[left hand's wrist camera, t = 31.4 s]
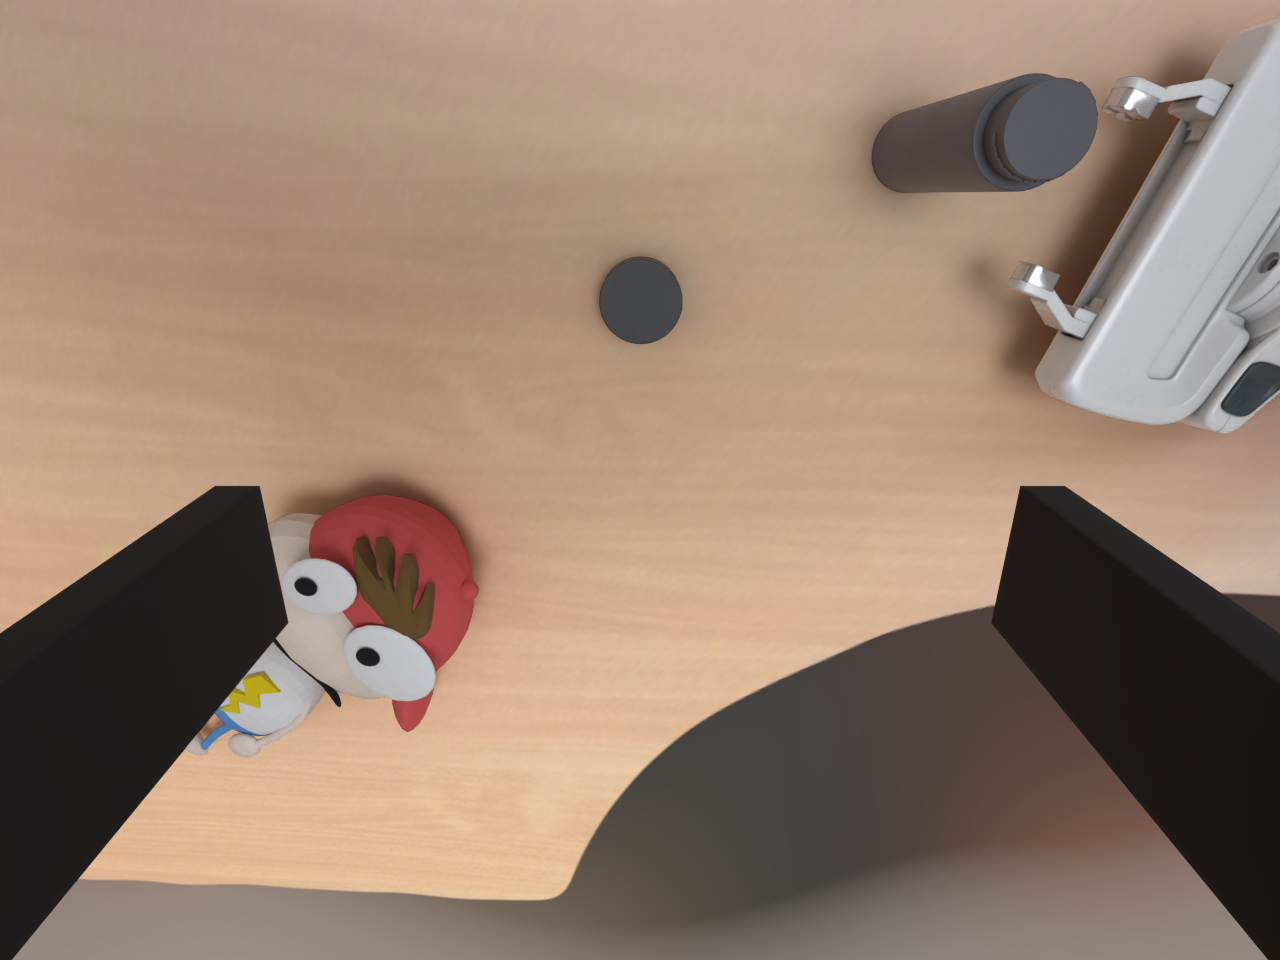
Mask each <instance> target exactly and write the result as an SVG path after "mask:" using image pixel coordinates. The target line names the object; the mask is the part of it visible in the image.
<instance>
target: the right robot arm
mask: <svg viewBox="0 0 1280 960" xmlns="http://www.w3.org/2000/svg"><path fill="white" fill-rule="evenodd" d="M1172 100H1173V101H1175V102H1172V103H1171V105H1170V106H1169V108H1168V110H1167V111H1168V113H1169V114H1171V115H1173V116H1175V117H1177V118H1179V119H1180V121H1179V122H1178V124H1177V126H1176V128H1175V129H1174V131H1173V133H1172V134H1171V136H1170V138H1169V140H1168V141H1167V143H1166V145H1165V147H1164V148H1163V150H1162V152H1161V154H1160V155H1159V157H1158V159H1157V160H1156V162H1155V164H1154V166H1153V167H1152V169H1151V171H1150V173H1149V174H1148V176H1147V178H1146V180H1145V181H1144V183H1143V185H1142V186H1141V188H1140V190H1139V192H1138V193H1137V195H1136V197H1135V199H1134V200H1133V202H1132V204H1131V206H1130V207H1129V209H1128V211H1127V212H1126V214H1125V216H1124V218H1123V219H1122V221H1121V223H1120V225H1119V226H1118V228H1117V230H1116V232H1115V233H1114V235H1113V237H1112V239H1111V240H1110V242H1109V244H1108V245H1107V247H1106V249H1105V251H1104V252H1103V254H1102V256H1101V258H1100V259H1099V261H1098V263H1097V265H1096V266H1095V268H1094V270H1093V271H1092V273H1091V275H1090V277H1089V278H1088V280H1087V282H1086V284H1085V285H1084V287H1083V289H1082V291H1081V292H1080V294H1079V296H1078V297H1077V299H1076V301H1075V303H1074V304H1073V306H1071V305H1067V304H1063V303H1062V301H1061V300H1060V298H1059V296H1058V295H1057V293H1056V292H1055V290H1054V288H1055V286H1056V284H1057V282H1058V280H1059V278H1060V276H1061V275H1060V274H1057V273H1055V272H1053V271H1050V270H1045V269H1044V268H1043V267H1040V266H1038V265H1035V264H1032V263H1025V262H1022V261H1020V262H1019V264H1018V266H1017V268H1016V269H1015V271H1014V273H1013V275H1012V277H1011V278H1010V280H1009V282H1008V284H1007V287H1008V288H1011V289H1013V290H1016V291H1018V292H1021V293H1023V294H1026V295H1028V296H1031V298H1030V300H1031V302H1032V303H1033V305H1034V307H1035V308H1036V310H1037V312H1038V313H1039V315H1040V317H1041V319H1042V320H1043V322H1044V324H1045V325H1047V326H1050V327H1052V328H1055V329H1057V330H1058V332H1057V334H1056V336H1055V337H1054V339H1053V341H1052V343H1051V344H1050V346H1049V348H1048V350H1047V351H1046V353H1045V355H1044V357H1043V358H1042V360H1041V362H1040V363H1039V365H1038V367H1037V369H1036V371H1035V377H1036V380H1037V382H1038V384H1039V386H1040V389H1041V390H1042V391H1043V392H1044V393H1046V394H1048V395H1050V396H1052V397H1054V398H1056V399H1058V400H1060V401H1063V402H1065V403H1068V404H1070V405H1073V406H1076V407H1078V408H1081V409H1084V410H1087V411H1091V412H1094V413H1097V414H1101V415H1105V416H1108V417H1113V418H1117V419H1121V420H1126V421H1131V422H1136V423H1142V424H1150V425H1163V424H1170V423H1174V422H1177V421H1179V422H1181V423H1184V424H1187V425H1190V426H1193V427H1196V428H1199V429H1203V430H1207V431H1212V432H1216V433H1221V434H1226V433H1230V432H1232V431H1234V430H1236V429H1238V428H1239V427H1240V426H1242V425H1243V424H1244V423H1245V422H1246V421H1248V420H1249V419H1250V418H1251V417H1252V416H1253V415H1254V414H1255V413H1257V412H1258V411H1259V410H1260V409H1261V408H1262V407H1264V406H1265V405H1266V404H1267V403H1268V402H1269V401H1271V400H1272V399H1273V398H1274V397H1275V396H1277V395H1278V394H1279V393H1280V18H1278V19H1274V20H1270V21H1267V22H1264V23H1261V24H1258V25H1255V26H1252V27H1250V28H1247V29H1245V30H1243V31H1240V32H1238V33H1236V34H1234V35H1232V36H1231V37H1229V38H1228V39H1227V40H1226V42H1225V43H1224V44H1223V46H1222V48H1221V49H1220V51H1219V53H1218V54H1217V56H1216V58H1215V60H1214V62H1213V63H1212V65H1211V67H1210V68H1209V70H1208V72H1207V74H1206V75H1205V77H1204V79H1203V80H1199V81H1194V82H1188V83H1183V84H1177V85H1172V86H1167V87H1161V86H1159V85H1157V84H1154V83H1152V82H1150V81H1148V80H1145V79H1143V78H1141V77H1135V76H1129V77H1125V78H1121V79H1117V81H1116V83H1115V85H1114V87H1113V89H1112V91H1111V92H1110V94H1109V96H1108V98H1107V100H1106V102H1105V104H1104V106H1103V107H1102V111H1103V112H1104V113H1106V114H1108V115H1109V114H1114V115H1115V117H1116V118H1117V119H1120V120H1122V121H1124V122H1135V121H1136V120H1137V119H1138V120H1140V121H1141V120H1147V119H1149V118H1150V116H1151V115H1152V113H1153V111H1154V109H1155V108H1156V106H1157V104H1158V103H1162V102H1167V101H1172Z"/></svg>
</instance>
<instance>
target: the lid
mask: <svg viewBox="0 0 1280 960" xmlns="http://www.w3.org/2000/svg"><path fill="white" fill-rule="evenodd" d="M681 310H682V293H681V289H680V286H679V284H678V281H677V279H676V277H675V276H674V274H673V273H672V271H671V270H670V269H669V268H668V267H667V266H666V265H664V264H663V263H661V262H660V261H658V260H655V259H652V258H648V257H633V258H629V259H627V260H624V261H622V262H620V263H619V264H618V265H616V266H615V267H614V268H613V269H612V270H611V271H610V273H609V274H608V275H607V277H606V279H605V281H604V284H603V286H602V289H601V292H600V311H601V315H602V317H603V320H604V322H605V323H606V325H607V326H608V328H609V329H610V330H611V331H612V332H613V333H614V334H615V335H616V336H618V337H619V338H621V339H623V340H625V341H627V342H630V343H635V344H647V343H651V342H655V341H657V340H659V339H661V338H663V337H664V336H666V335H667V334H668V333H669V332H670V331H671V330H672V329H673V328H674V326H675V325H676V323H677V321H678V319H679V317H680V314H681Z"/></svg>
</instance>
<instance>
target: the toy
mask: <svg viewBox="0 0 1280 960" xmlns="http://www.w3.org/2000/svg"><path fill="white" fill-rule="evenodd" d="M268 528H269V533H270V537H271V542H272V547H273V552H274V556H275V561H276V566H277V571H278V575H279V580H280V585H281V589H282V594H283V599H284V604H285V608H286V613H287V618H288V622H289V623H288V624H287V625H286V627H285V628H284V629H283V630H282V631H281V633H280V634H279V635H278V636H277V638H276V639H275V640H274V641H273V642H272V644H271V645H270V646H269V647H268V648H267V650H266V651H265V652H264V653H263V655H262V656H261V657H260V658H259V659H258V661H257V662H256V663H255V664H254V666H253V667H252V668H251V669H250V670H249V672H248V673H247V674H246V675H245V676H244V678H243V679H242V680H241V681H240V683H239V684H238V685H237V686H236V687H235V689H234V690H233V691H232V692H231V694H230V695H229V696H228V697H227V698H226V700H225V701H224V702H223V703H222V704H221V706H220V707H219V708H218V709H217V711H216V712H215V714H216V715H217V716H218V718H219V719H220V720H221V721H222V722H224V723H225V724H224V725H222V726H220V727H218V728H217V729H215V730H214V731H213V732H212V733H210V734H209V735H208V737H207V738H206V739H204V738H203V736H202V735H201V734H200V732H198V734H197V735H196V736H195V737H194V739H193V740H192V741H191V742H190V743H189V745H188V746H187V747H186V748H185V749H186V750H188V751H189V752H191V753H194V754H197V755H205V754H207V753H208V747H209V746H210V745H211V744H212V743H213V742H214V741H215V740H216V739H217V738H218V737H219V736H221V735H222V734H224V733H226V732H228V731H229V730H231V729H234V730H236V731H238V732H241V733H238V734H235V735H233V736H232V737H231V738H230V739H229V747H230V749H231V751H232V752H234V753H235V754H236V755H238V756H241V757H252V756H255V755H256V754H258V753H259V751H260V747H263V746H265V745H267V744H270V743H272V742H274V741H276V740H278V739H280V738H281V737H283V736H285V735H286V734H288V733H289V732H291V731H292V730H294V729H295V728H296V727H298V726H299V725H300V724H301V723H302V722H303V721H304V719H305V718H306V717H307V715H309V714H310V713H311V711H312V710H313V709H314V708H315V706H316V705H317V704H318V702H319V701H320V699H321V697H322V695H323V693H324V691H326V692H327V693H328V694H329V695H330V697H331V698H332V700H333V701H334V702H335V704H336V705H337V706H338V707H341V701H340V698H339V695H338V693H337V692H340V693H343V694H347V695H351V696H355V697H359V698H362V699H378V698H383V697H387V698H390V699H392V704H393V708H394V712H395V716H396V719H397V721H398V723H399V724H400V726H401V728H402V729H403V730H405V731H407V732H409V731H411V730H413V729H414V728H415V727H416V726H417V725H418V724H419V723H420V722H421V720H422V718H423V717H424V715H425V713H426V711H427V708H428V706H429V703H430V700H431V697H432V694H433V689H434V684H435V679H436V676H435V672H436V671H437V670H438V669H439V668H440V667H441V666H442V665H443V664H444V663H446V662H447V661H448V660H449V658H450V657H451V656H452V655H453V653H454V652H455V651H456V649H457V648H458V646H459V644H460V643H461V641H462V639H463V637H464V636H465V634H466V632H467V630H468V627H469V623H470V620H471V617H472V612H473V603H474V598H475V597H476V596H477V594H478V586H477V584H476V583H475V582H474V581H473V579H472V572H471V567H470V564H469V560H468V557H467V554H466V550H465V547H464V545H463V543H462V541H461V538H460V535H459V533H458V531H457V530H456V529H455V527H454V526H453V525H452V524H451V522H450V521H449V520H448V519H447V518H446V517H445V516H444V515H442V514H441V513H440V512H438V511H437V510H435V509H433V508H431V507H429V506H427V505H425V504H423V503H420V502H417V501H414V500H410V499H407V498H403V497H397V496H389V495H377V496H368V497H363V498H359V499H356V500H354V501H351V502H348V503H346V504H343V505H341V506H338V507H336V508H335V509H333V510H331V511H329V512H328V513H326V514H324V515H315V514H307V513H292V514H288V515H285V516H282V517H280V518H278V519H276V520H274V521H272V522H270V523H269V524H268ZM252 735H255V736H265V737H263V738H260V739H258V740H257V739H256V738H255V737H254V736H252Z"/></svg>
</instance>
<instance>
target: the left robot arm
mask: <svg viewBox="0 0 1280 960" xmlns="http://www.w3.org/2000/svg"><path fill="white" fill-rule="evenodd" d="M288 623H289V622H288V618H287V613H286V608H285V604H284V599H283V594H282V589H281V585H280V580H279V575H278V571H277V566H276V561H275V556H274V552H273V547H272V542H271V537H270V533H269V528H268V523H267V519H266V514H265V509H264V504H263V500H262V495H261V490H260V486H215V487H213V488H212V489H210V490H209V491H207V492H206V493H204V494H203V495H201V496H200V497H199V498H197V499H196V500H194V501H193V502H191V503H190V504H188V505H187V506H185V507H184V508H183V509H181V510H180V511H178V512H177V513H175V514H174V515H172V516H171V517H169V518H168V519H166V520H165V521H164V522H162V523H161V524H159V525H158V526H156V527H155V528H153V529H152V530H150V531H149V532H148V533H146V534H145V535H143V536H142V537H140V538H139V539H137V540H136V541H134V542H133V543H131V544H130V545H129V546H127V547H126V548H124V549H123V550H121V551H120V552H118V553H117V554H115V555H114V556H112V557H111V558H110V559H108V560H107V561H105V562H104V563H102V564H101V565H99V566H98V567H96V568H95V569H94V570H92V571H91V572H89V573H88V574H86V575H85V576H83V577H82V578H80V579H79V580H77V581H76V582H75V583H73V584H72V585H70V586H69V587H67V588H66V589H64V590H63V591H61V592H60V593H58V594H57V595H56V596H54V597H53V598H51V599H50V600H48V601H47V602H45V603H44V604H42V605H41V606H40V607H38V608H37V609H35V610H34V611H32V612H31V613H29V614H28V615H26V616H25V617H23V618H22V619H21V620H19V621H18V622H16V623H15V624H13V625H12V626H10V627H9V628H7V629H6V630H4V631H3V632H2V633H0V960H12V959H13V958H14V956H15V955H16V954H17V953H18V952H19V950H20V949H21V948H22V947H23V946H24V944H25V943H26V942H27V941H28V939H29V938H30V937H31V936H32V935H33V933H34V932H35V931H36V930H37V928H38V927H39V926H40V925H41V924H42V922H43V921H44V920H45V919H46V918H47V916H48V915H49V914H50V913H51V911H52V910H53V909H54V908H55V907H56V905H57V904H58V903H59V902H60V900H61V899H62V898H63V897H64V896H65V894H66V893H67V892H68V891H69V890H70V888H71V887H72V886H73V885H74V883H75V882H76V881H77V880H78V879H79V877H80V876H81V875H82V874H83V872H84V871H85V870H86V869H87V868H88V866H89V865H90V864H91V863H92V862H93V860H94V859H95V858H96V857H97V855H98V854H99V853H100V852H101V851H102V849H103V848H104V847H105V846H106V844H107V843H108V842H109V841H110V840H111V838H112V837H113V836H114V835H115V834H116V832H117V831H118V830H119V829H120V827H121V826H122V825H123V824H124V823H125V821H126V820H127V819H128V818H129V816H130V815H131V814H132V813H133V812H134V810H135V809H136V808H137V807H138V806H139V804H140V803H141V802H142V801H143V799H144V798H145V797H146V796H147V795H148V793H149V792H150V791H151V790H152V788H153V787H154V786H155V785H156V784H157V782H158V781H159V780H160V779H161V778H162V776H163V775H164V774H165V773H166V771H167V770H168V769H169V768H170V767H171V765H172V764H173V763H174V762H175V760H176V759H177V758H178V757H179V756H180V754H181V753H182V752H183V751H184V750H185V748H186V747H187V746H188V745H189V743H190V742H191V741H192V740H193V739H194V737H195V736H196V735H197V734H198V732H199V731H200V730H201V729H202V728H203V726H204V725H205V724H206V723H207V722H208V720H209V719H210V718H211V717H212V715H213V714H214V713H215V712H216V711H217V709H218V708H219V707H220V706H221V704H222V703H223V702H224V701H225V700H226V698H227V697H228V696H229V695H230V694H231V692H232V691H233V690H234V689H235V687H236V686H237V685H238V684H239V683H240V681H241V680H242V679H243V678H244V676H245V675H246V674H247V673H248V672H249V670H250V669H251V668H252V667H253V666H254V664H255V663H256V662H257V661H258V659H259V658H260V657H261V656H262V655H263V653H264V652H265V651H266V650H267V648H268V647H269V646H270V645H271V644H272V642H273V641H274V640H275V639H276V638H277V636H278V635H279V634H280V633H281V631H282V630H283V629H284V628H285V627H286V625H287V624H288ZM992 624H993V625H994V627H995V628H996V629H997V630H998V631H999V633H1000V634H1001V635H1002V636H1003V638H1004V639H1005V640H1006V641H1007V642H1008V644H1009V645H1010V646H1011V647H1012V648H1013V650H1014V651H1015V652H1016V653H1017V655H1018V656H1019V657H1020V658H1021V659H1022V661H1023V662H1024V663H1025V664H1026V666H1027V667H1028V668H1029V669H1030V670H1031V672H1032V673H1033V674H1034V675H1035V676H1036V678H1037V679H1038V680H1039V681H1040V683H1041V684H1042V685H1043V686H1044V687H1045V689H1046V690H1047V691H1048V692H1049V693H1050V695H1051V696H1052V697H1053V698H1054V700H1055V701H1056V702H1057V703H1058V704H1059V706H1060V707H1061V708H1062V709H1063V711H1064V712H1065V713H1066V714H1067V715H1068V717H1069V718H1070V719H1071V720H1072V721H1073V723H1074V724H1075V725H1076V726H1077V728H1078V729H1079V730H1080V731H1081V732H1082V734H1083V735H1084V736H1085V737H1086V738H1087V740H1088V741H1089V742H1090V743H1091V745H1092V746H1093V747H1094V748H1095V749H1096V751H1097V752H1098V753H1099V754H1100V756H1101V757H1102V758H1103V759H1104V760H1105V762H1106V763H1107V764H1108V765H1109V767H1110V768H1111V769H1112V770H1113V771H1114V773H1115V774H1116V775H1117V776H1118V777H1119V779H1120V780H1121V781H1122V782H1123V784H1124V785H1125V786H1126V787H1127V788H1128V790H1129V791H1130V792H1131V793H1132V795H1133V796H1134V797H1135V798H1136V799H1137V801H1138V802H1139V803H1140V804H1141V806H1142V807H1143V808H1144V809H1145V810H1146V812H1147V813H1148V814H1149V815H1150V816H1151V818H1152V819H1153V820H1154V821H1155V822H1156V824H1157V825H1158V826H1159V827H1160V829H1161V830H1162V831H1163V832H1164V834H1165V835H1166V836H1167V837H1168V838H1169V840H1170V841H1171V842H1172V843H1173V844H1174V846H1175V847H1176V848H1177V849H1178V851H1179V852H1180V853H1181V854H1182V855H1183V857H1184V858H1185V859H1186V860H1187V861H1188V863H1189V864H1190V865H1191V866H1192V868H1193V869H1194V870H1195V871H1196V872H1197V874H1198V875H1199V876H1200V877H1201V879H1202V880H1203V881H1204V882H1205V883H1206V885H1207V886H1208V887H1209V888H1210V890H1211V891H1212V892H1213V893H1214V894H1215V896H1216V897H1217V898H1218V899H1219V900H1220V902H1221V903H1222V904H1223V905H1224V907H1225V908H1226V909H1227V910H1228V911H1229V913H1230V914H1231V915H1232V916H1233V918H1234V919H1235V920H1236V921H1237V922H1238V924H1239V925H1240V926H1241V927H1242V928H1243V930H1244V931H1245V932H1246V933H1247V935H1248V936H1249V937H1250V938H1251V939H1252V941H1253V942H1254V943H1255V944H1256V946H1257V947H1258V948H1259V949H1260V950H1261V951H1262V953H1263V954H1264V955H1265V956H1266V958H1267V959H1268V960H1280V633H1278V632H1277V631H1276V630H1274V629H1273V628H1271V627H1270V626H1268V625H1267V624H1265V623H1264V622H1262V621H1261V620H1259V619H1258V618H1257V617H1255V616H1254V615H1252V614H1251V613H1249V612H1248V611H1246V610H1245V609H1243V608H1242V607H1240V606H1239V605H1238V604H1236V603H1235V602H1233V601H1232V600H1230V599H1229V598H1227V597H1226V596H1224V595H1223V594H1222V593H1220V592H1219V591H1217V590H1216V589H1214V588H1213V587H1211V586H1210V585H1208V584H1207V583H1205V582H1204V581H1203V580H1201V579H1200V578H1198V577H1197V576H1195V575H1194V574H1192V573H1191V572H1189V571H1188V570H1186V569H1185V568H1184V567H1182V566H1181V565H1179V564H1178V563H1176V562H1175V561H1173V560H1172V559H1170V558H1169V557H1168V556H1166V555H1165V554H1163V553H1162V552H1160V551H1159V550H1157V549H1156V548H1154V547H1153V546H1151V545H1150V544H1149V543H1147V542H1146V541H1144V540H1143V539H1141V538H1140V537H1138V536H1137V535H1135V534H1134V533H1132V532H1131V531H1130V530H1128V529H1127V528H1125V527H1124V526H1122V525H1121V524H1119V523H1118V522H1116V521H1115V520H1114V519H1112V518H1111V517H1109V516H1108V515H1106V514H1105V513H1103V512H1102V511H1100V510H1099V509H1097V508H1096V507H1095V506H1093V505H1092V504H1090V503H1089V502H1087V501H1086V500H1084V499H1083V498H1081V497H1080V496H1079V495H1077V494H1076V493H1074V492H1073V491H1071V490H1070V489H1068V488H1067V487H1065V486H1020V490H1019V495H1018V500H1017V504H1016V509H1015V514H1014V519H1013V523H1012V528H1011V533H1010V537H1009V542H1008V547H1007V552H1006V556H1005V561H1004V566H1003V570H1002V575H1001V580H1000V585H999V589H998V594H997V599H996V604H995V608H994V613H993V618H992Z"/></svg>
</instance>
